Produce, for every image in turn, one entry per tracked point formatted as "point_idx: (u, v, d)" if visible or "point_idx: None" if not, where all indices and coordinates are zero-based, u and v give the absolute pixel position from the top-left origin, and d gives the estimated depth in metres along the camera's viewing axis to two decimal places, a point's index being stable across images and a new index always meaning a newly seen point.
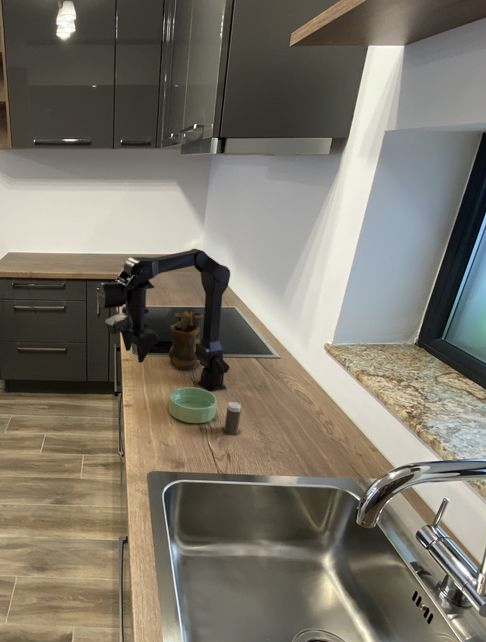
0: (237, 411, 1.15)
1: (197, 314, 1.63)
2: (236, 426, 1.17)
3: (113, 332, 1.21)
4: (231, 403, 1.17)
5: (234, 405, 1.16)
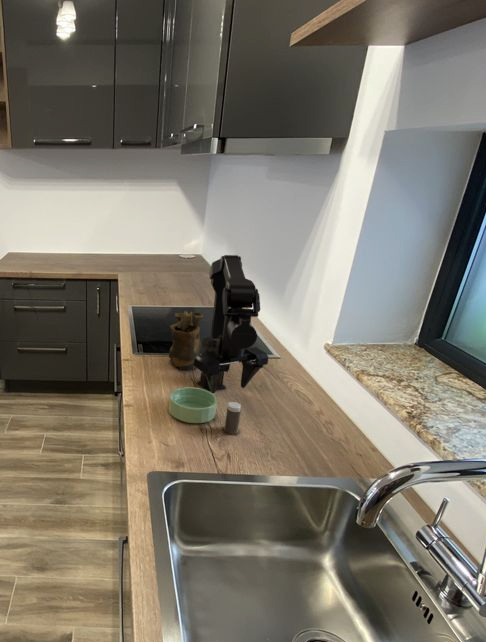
0: (237, 411, 1.15)
1: (197, 314, 1.63)
2: (236, 426, 1.17)
3: None
4: (231, 403, 1.17)
5: (234, 405, 1.16)
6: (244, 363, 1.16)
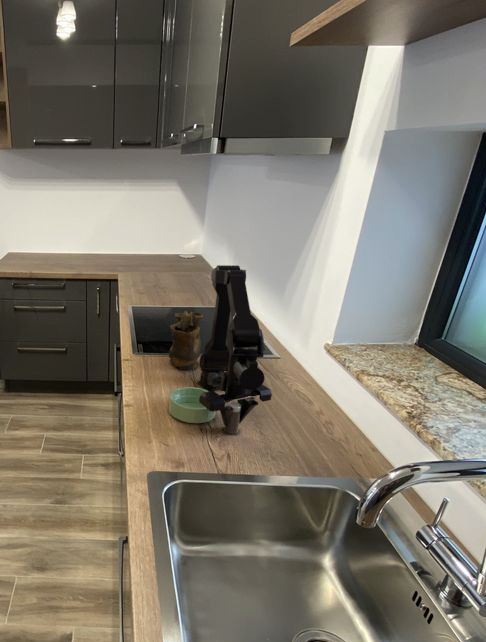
0: (237, 411, 1.15)
1: (197, 314, 1.63)
2: (236, 426, 1.17)
3: None
4: (231, 403, 1.17)
5: (234, 405, 1.16)
6: (239, 400, 1.18)
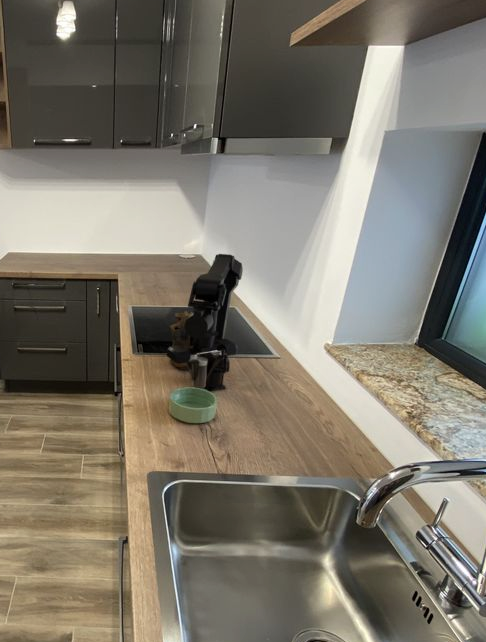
0: (203, 365, 1.19)
1: None
2: (204, 380, 1.21)
3: None
4: (198, 358, 1.21)
5: (201, 359, 1.20)
6: (206, 355, 1.22)
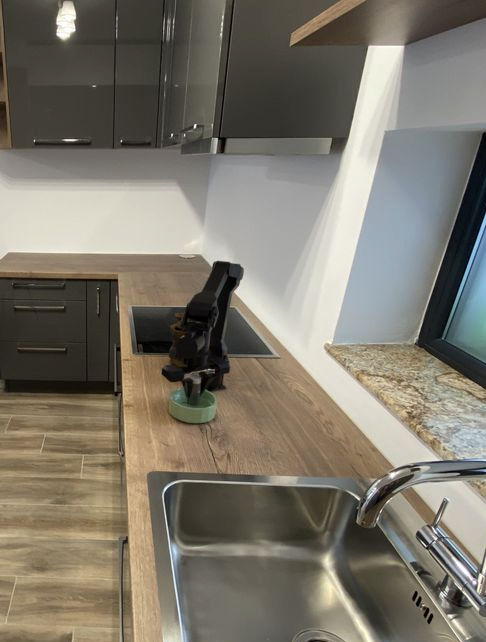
0: (197, 383, 1.23)
1: None
2: (197, 397, 1.24)
3: None
4: (192, 376, 1.24)
5: (195, 378, 1.23)
6: (200, 373, 1.25)
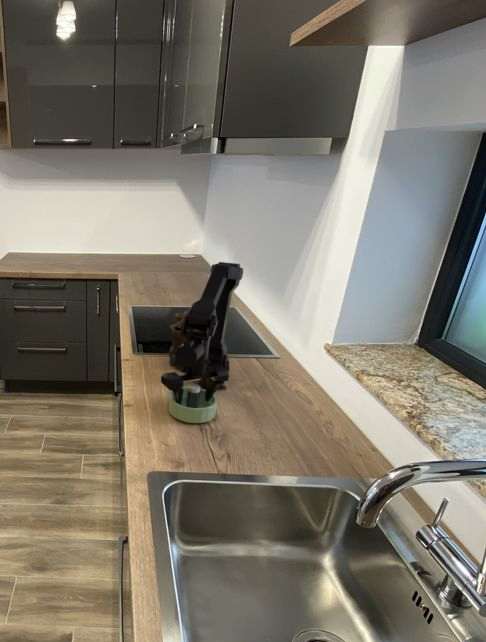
0: (196, 392, 1.24)
1: None
2: (196, 406, 1.26)
3: None
4: (191, 385, 1.26)
5: (194, 386, 1.25)
6: (207, 379, 1.27)
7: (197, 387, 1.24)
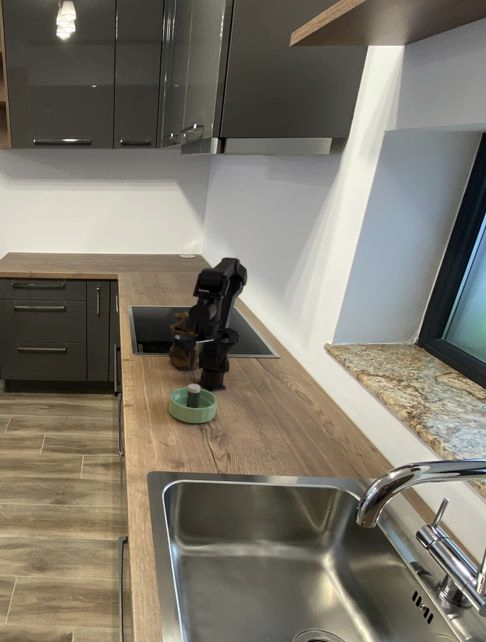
0: (196, 392, 1.24)
1: None
2: (196, 406, 1.26)
3: None
4: (191, 385, 1.26)
5: (194, 386, 1.25)
6: (219, 342, 1.29)
7: (197, 387, 1.24)
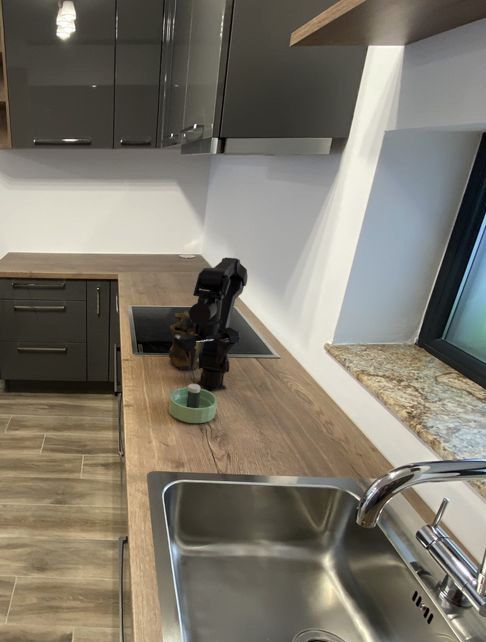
0: (196, 392, 1.24)
1: None
2: (196, 406, 1.26)
3: None
4: (191, 385, 1.26)
5: (194, 386, 1.25)
6: (219, 341, 1.30)
7: (197, 387, 1.24)
